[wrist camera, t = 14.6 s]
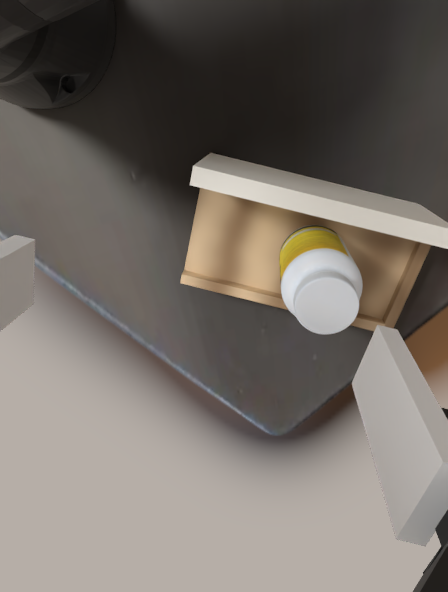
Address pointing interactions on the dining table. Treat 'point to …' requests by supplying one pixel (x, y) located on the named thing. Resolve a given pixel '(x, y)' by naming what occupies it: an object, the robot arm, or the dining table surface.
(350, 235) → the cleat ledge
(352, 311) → the pill bottle
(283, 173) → the wall board
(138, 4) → the dining table surface
